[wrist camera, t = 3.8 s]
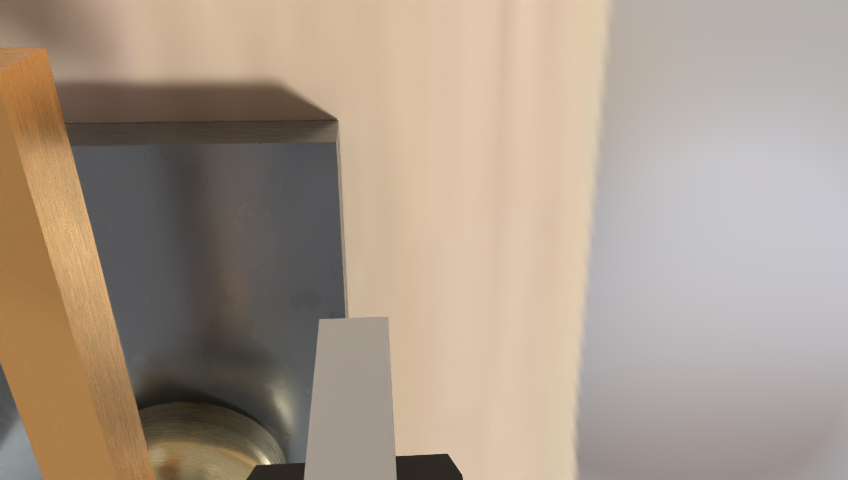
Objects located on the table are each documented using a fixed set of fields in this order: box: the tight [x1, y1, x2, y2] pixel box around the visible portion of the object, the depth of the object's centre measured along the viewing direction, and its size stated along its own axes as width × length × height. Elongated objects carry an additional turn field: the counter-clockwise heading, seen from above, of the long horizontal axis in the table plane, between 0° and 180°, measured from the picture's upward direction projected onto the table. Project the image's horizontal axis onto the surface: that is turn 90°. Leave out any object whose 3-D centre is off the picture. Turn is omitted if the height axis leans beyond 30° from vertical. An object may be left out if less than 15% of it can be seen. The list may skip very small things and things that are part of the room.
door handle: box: [0, 47, 286, 480], centre depth 19 cm, size 20×7×7 cm, turn 179°
